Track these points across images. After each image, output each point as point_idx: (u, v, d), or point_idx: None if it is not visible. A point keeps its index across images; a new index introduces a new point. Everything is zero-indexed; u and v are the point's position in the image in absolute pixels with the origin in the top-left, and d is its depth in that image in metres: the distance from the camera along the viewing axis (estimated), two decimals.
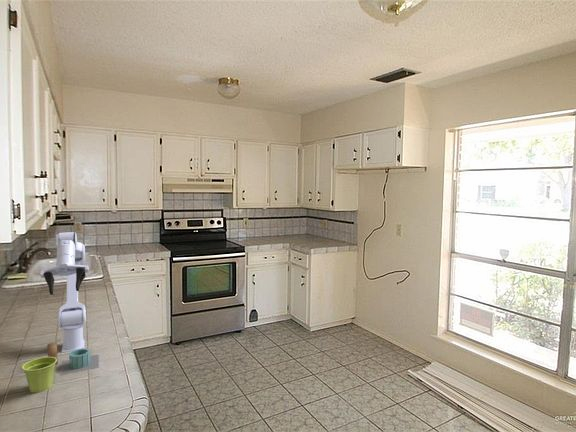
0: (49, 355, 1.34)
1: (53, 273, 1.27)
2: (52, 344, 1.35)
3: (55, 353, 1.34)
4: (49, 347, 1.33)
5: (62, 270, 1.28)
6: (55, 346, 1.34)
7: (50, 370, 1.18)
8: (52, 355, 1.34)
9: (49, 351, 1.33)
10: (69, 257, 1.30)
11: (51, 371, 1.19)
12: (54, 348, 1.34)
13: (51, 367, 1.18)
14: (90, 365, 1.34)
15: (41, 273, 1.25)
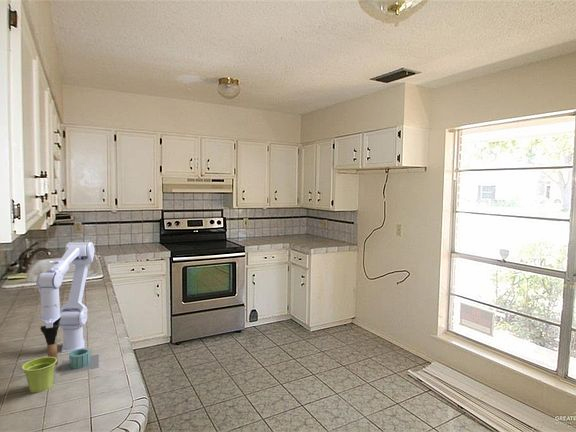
0: (49, 355, 1.34)
1: None
2: (52, 344, 1.35)
3: (55, 353, 1.34)
4: (49, 347, 1.33)
5: None
6: (55, 346, 1.34)
7: (50, 370, 1.18)
8: (52, 355, 1.34)
9: (49, 351, 1.33)
10: (42, 310, 1.31)
11: (51, 371, 1.19)
12: (54, 348, 1.34)
13: (51, 367, 1.18)
14: (90, 365, 1.34)
15: None
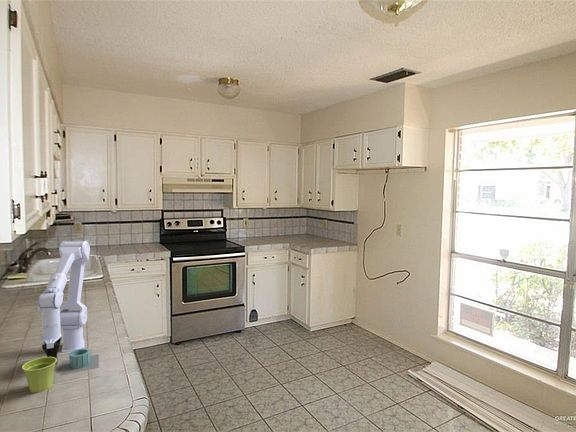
0: None
1: None
2: None
3: None
4: None
5: None
6: None
7: (50, 370, 1.18)
8: None
9: None
10: (43, 330, 1.32)
11: (51, 371, 1.19)
12: None
13: (51, 367, 1.18)
14: (90, 365, 1.34)
15: None
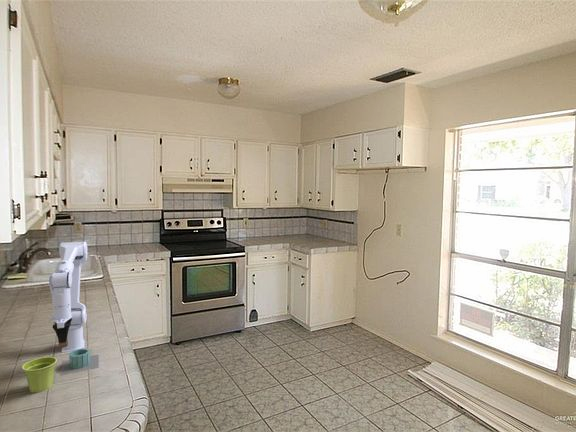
0: None
1: None
2: None
3: None
4: None
5: None
6: None
7: (50, 370, 1.18)
8: None
9: None
10: (53, 310, 1.31)
11: (51, 371, 1.19)
12: None
13: (51, 367, 1.18)
14: (90, 365, 1.34)
15: None
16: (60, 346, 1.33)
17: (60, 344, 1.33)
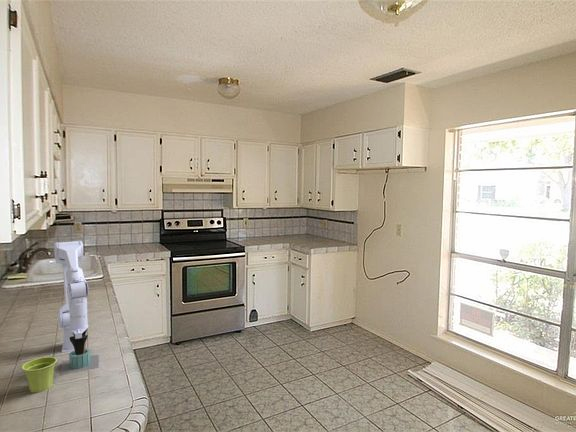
0: None
1: None
2: None
3: None
4: None
5: None
6: None
7: (50, 370, 1.18)
8: None
9: None
10: (70, 320, 1.31)
11: (51, 371, 1.19)
12: None
13: (51, 367, 1.18)
14: (90, 365, 1.34)
15: None
16: None
17: None
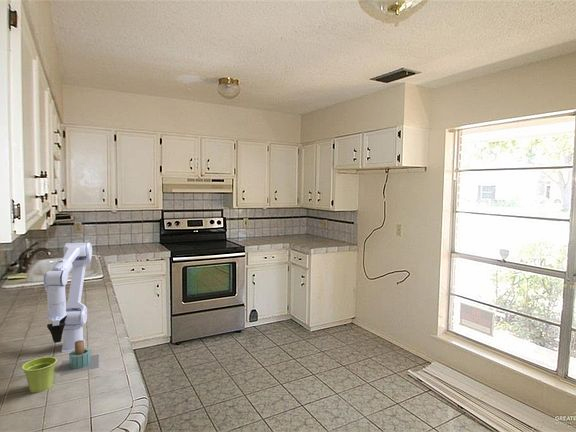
0: (76, 352, 1.33)
1: None
2: (79, 341, 1.34)
3: (82, 350, 1.34)
4: (76, 344, 1.33)
5: None
6: (82, 343, 1.34)
7: (50, 370, 1.18)
8: (79, 352, 1.34)
9: (76, 348, 1.33)
10: (48, 307, 1.32)
11: (51, 371, 1.19)
12: (81, 345, 1.34)
13: (51, 367, 1.18)
14: (90, 365, 1.34)
15: None
16: None
17: None
